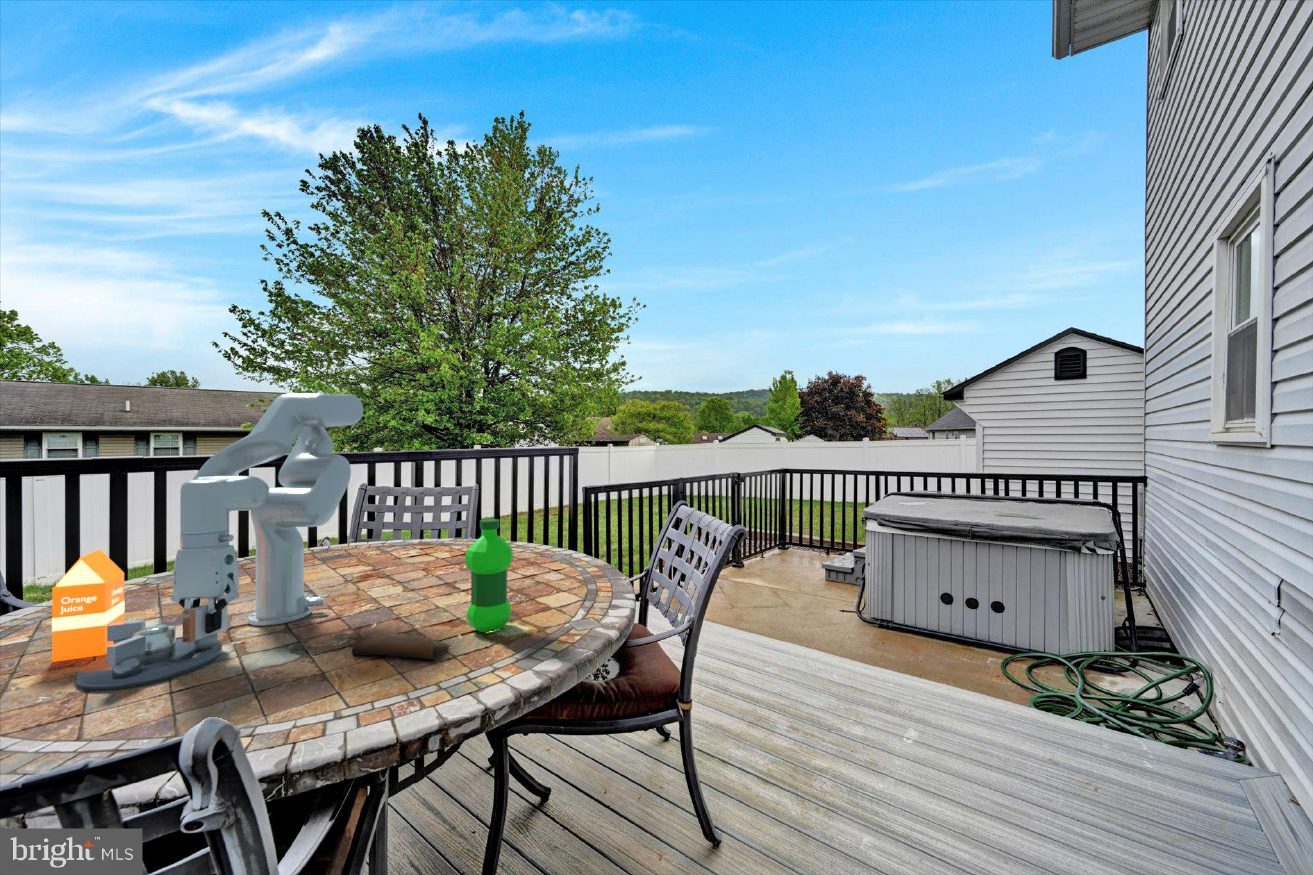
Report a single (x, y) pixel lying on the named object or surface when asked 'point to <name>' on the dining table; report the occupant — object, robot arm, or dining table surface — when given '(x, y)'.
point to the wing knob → (200, 627)
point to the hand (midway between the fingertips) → (204, 630)
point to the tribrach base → (149, 671)
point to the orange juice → (86, 607)
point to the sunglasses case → (399, 646)
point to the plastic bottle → (489, 579)
